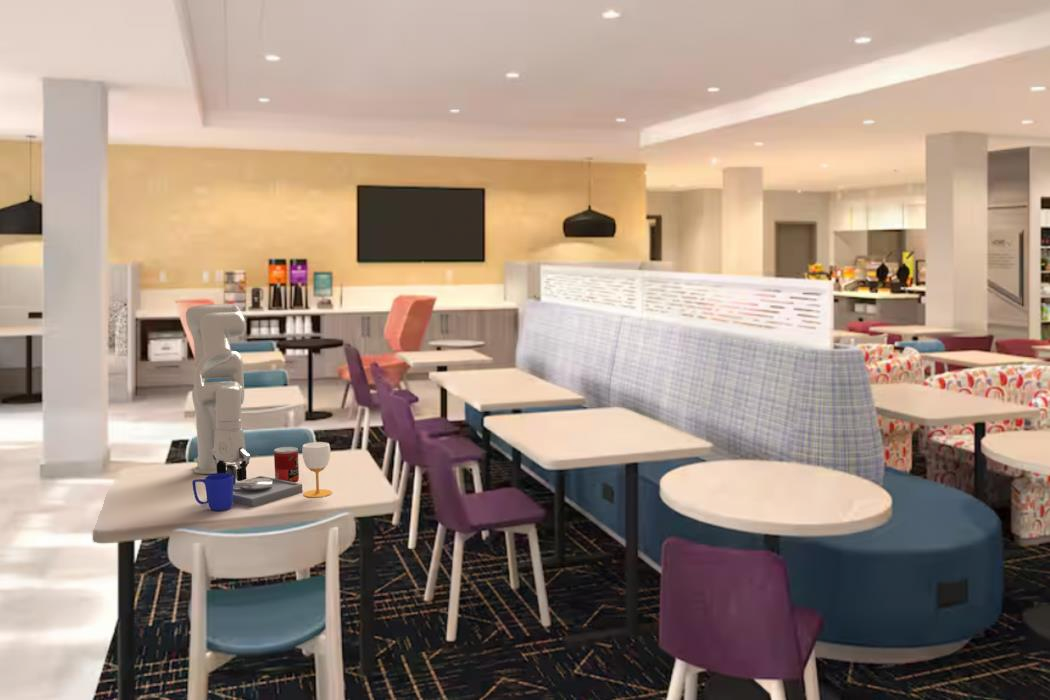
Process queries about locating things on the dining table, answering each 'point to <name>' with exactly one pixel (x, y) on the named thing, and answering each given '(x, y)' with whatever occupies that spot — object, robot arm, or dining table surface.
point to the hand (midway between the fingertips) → (231, 477)
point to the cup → (316, 464)
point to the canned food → (286, 464)
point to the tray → (265, 492)
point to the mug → (217, 491)
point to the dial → (248, 484)
